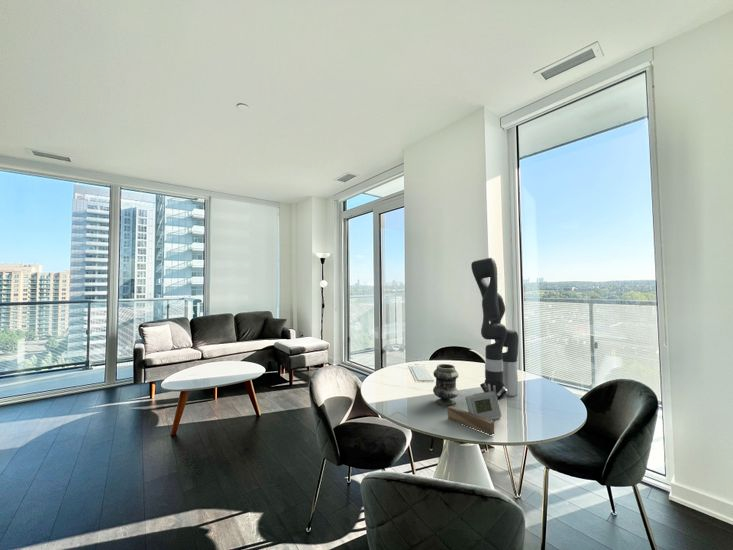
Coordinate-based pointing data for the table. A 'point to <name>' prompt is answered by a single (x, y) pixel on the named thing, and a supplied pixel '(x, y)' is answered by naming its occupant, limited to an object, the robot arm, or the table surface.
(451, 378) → the stone urn vase
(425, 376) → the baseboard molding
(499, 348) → the robot arm
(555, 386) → the table surface
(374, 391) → the table surface
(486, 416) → the digital clock
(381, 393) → the table surface
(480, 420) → the walnut board
